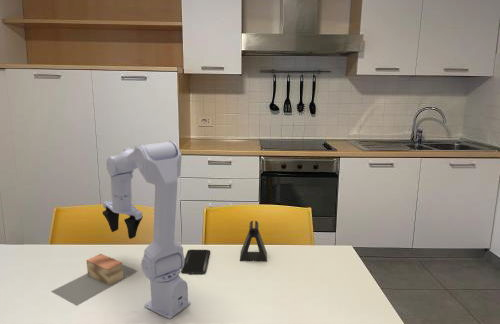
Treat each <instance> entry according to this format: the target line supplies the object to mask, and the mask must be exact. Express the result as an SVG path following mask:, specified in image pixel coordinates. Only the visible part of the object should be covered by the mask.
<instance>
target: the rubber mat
mask: <svg viewBox="0 0 500 324" xmlns="http://www.w3.org/2000/svg"><path fill="white" fill-rule="evenodd" d="M122 268H123V278H121V279H120V280H118V281H116V282H114V283H112V284H111V285H108V284H106V283H104V282H101V281H99V280H97V279H95V278H93V277H91V276H89V275H88V272H87V273H85V274H84V275H81V276H80V277H77V278H75V279H73V280H72V281H69V282H66V283H65V284H62V285H61V286H59V287H57V288H55V289H53V290H51V293H53V294H55V295H57V296H58V297H60V298H62V299H63V300H65V301H68V302H70V303H71V304H73V305H75V306H76V307H77V306H79V305H81V304H83V303H85V302H86V301H88V300H90V299H92V298H93V297H96V296H97V295H99V294H101V293H102V292H104V291H106V290H108V289H110V288H111V287H114V286H115V285H117V284H119V283H121V282H122V281H124V280H125V279H127V278H130V277H132V276H133V275H134V274H137V273H138V272H139V270H136V269H134V268H132V267H129V266H127V265H124V264H122Z"/></svg>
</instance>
